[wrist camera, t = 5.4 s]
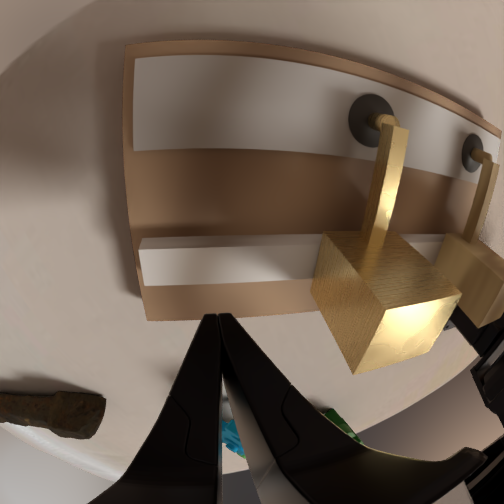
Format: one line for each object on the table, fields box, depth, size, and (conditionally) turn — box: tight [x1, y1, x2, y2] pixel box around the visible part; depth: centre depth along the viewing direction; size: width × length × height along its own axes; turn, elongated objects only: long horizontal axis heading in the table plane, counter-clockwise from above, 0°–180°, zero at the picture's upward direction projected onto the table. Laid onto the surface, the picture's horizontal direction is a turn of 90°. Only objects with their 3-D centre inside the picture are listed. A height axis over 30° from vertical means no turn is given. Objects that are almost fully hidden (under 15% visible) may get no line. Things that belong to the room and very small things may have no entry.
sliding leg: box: [310, 112, 462, 375], centre depth 9 cm, size 4×8×6 cm, turn 176°
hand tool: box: [0, 391, 106, 439], centre depth 17 cm, size 19×4×5 cm, turn 99°
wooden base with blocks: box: [122, 40, 504, 328], centre depth 11 cm, size 22×13×8 cm, turn 86°
